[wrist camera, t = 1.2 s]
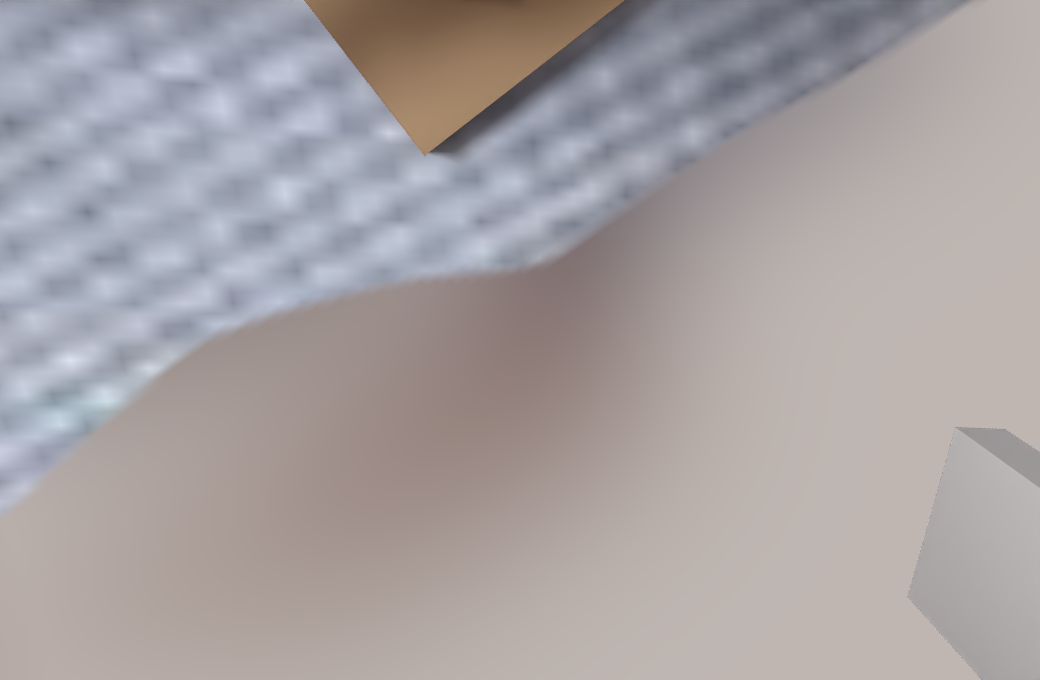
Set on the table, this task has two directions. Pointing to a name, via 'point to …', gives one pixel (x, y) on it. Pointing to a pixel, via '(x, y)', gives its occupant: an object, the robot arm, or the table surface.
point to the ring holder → (451, 51)
